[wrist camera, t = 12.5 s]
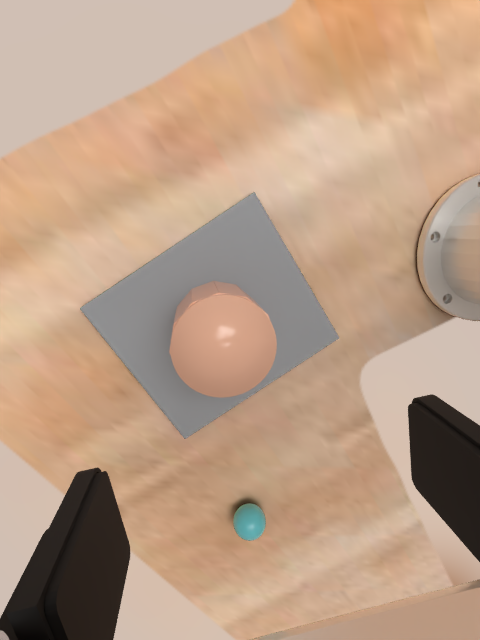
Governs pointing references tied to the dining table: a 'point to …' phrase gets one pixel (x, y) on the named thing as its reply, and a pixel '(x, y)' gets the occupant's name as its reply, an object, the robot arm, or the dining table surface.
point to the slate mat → (197, 269)
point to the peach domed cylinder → (221, 340)
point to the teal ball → (249, 521)
